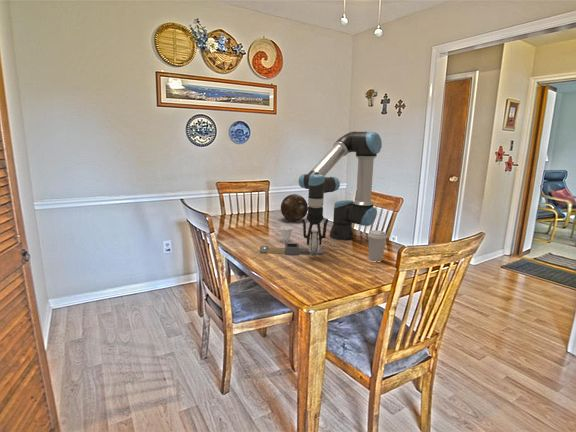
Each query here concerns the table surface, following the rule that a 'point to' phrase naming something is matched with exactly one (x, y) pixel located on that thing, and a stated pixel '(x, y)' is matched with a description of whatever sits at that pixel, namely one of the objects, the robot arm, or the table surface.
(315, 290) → the table surface
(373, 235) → the coffee cup
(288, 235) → the cup
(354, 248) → the table surface
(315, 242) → the link pin
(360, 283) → the table surface
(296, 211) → the decorative sphere
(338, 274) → the table surface
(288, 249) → the grey knobbed bar
